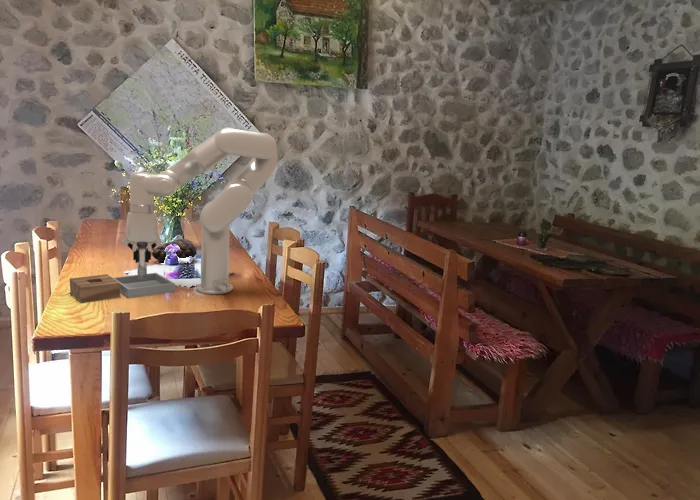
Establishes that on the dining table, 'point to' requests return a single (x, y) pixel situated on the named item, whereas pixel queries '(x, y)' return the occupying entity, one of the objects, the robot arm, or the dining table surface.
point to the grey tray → (144, 285)
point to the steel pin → (142, 260)
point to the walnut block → (94, 288)
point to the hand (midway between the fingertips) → (142, 261)
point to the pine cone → (185, 251)
